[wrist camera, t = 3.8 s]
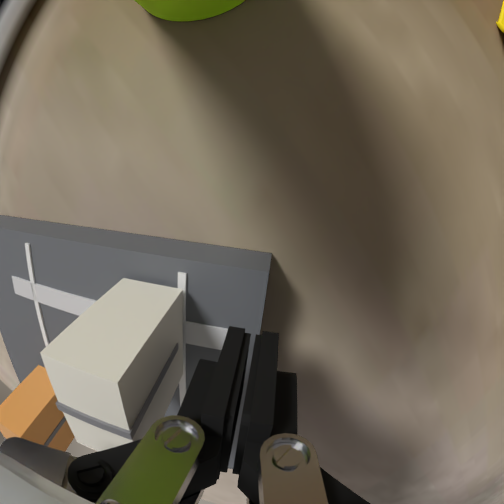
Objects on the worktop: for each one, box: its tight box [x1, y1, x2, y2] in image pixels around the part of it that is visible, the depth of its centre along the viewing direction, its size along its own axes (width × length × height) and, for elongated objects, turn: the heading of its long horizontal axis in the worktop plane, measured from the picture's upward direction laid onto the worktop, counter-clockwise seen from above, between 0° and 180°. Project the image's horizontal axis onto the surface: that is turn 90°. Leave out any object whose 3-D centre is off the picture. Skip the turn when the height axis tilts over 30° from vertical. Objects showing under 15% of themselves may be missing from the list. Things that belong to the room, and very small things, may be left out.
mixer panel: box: [0, 215, 272, 469], centre depth 14 cm, size 16×13×2 cm
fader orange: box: [0, 365, 75, 452], centre depth 11 cm, size 2×4×5 cm, turn 173°
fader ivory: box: [40, 278, 183, 452], centre depth 9 cm, size 2×4×5 cm, turn 173°
